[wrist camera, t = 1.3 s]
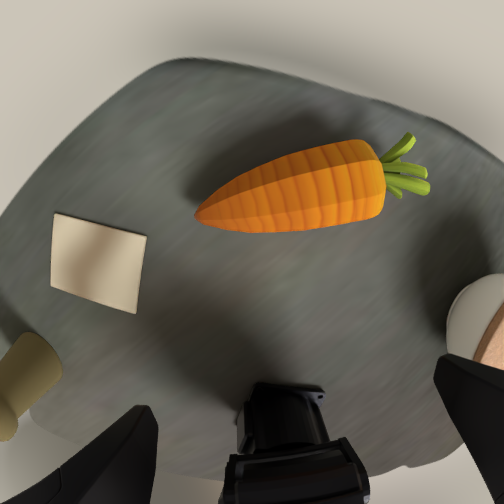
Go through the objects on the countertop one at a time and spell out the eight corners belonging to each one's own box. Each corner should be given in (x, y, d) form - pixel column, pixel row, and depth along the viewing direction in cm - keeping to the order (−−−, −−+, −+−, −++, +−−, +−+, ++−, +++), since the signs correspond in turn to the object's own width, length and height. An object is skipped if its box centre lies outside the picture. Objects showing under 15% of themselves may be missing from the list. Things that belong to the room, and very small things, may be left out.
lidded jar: (480, 350, 24) (528, 392, 15) (414, 364, 23) (464, 425, 14) (507, 261, 21) (570, 289, 12) (444, 256, 21) (523, 295, 11)
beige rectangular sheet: (147, 236, 19) (145, 237, 19) (136, 312, 20) (135, 314, 20) (56, 213, 18) (54, 213, 18) (52, 284, 20) (50, 285, 19)
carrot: (174, 164, 15) (423, 113, 13) (203, 193, 20) (402, 150, 18) (184, 249, 15) (457, 189, 12) (213, 261, 19) (425, 214, 17)
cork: (20, 365, 22) (-32, 424, 11) (16, 321, 20) (-51, 379, 10) (63, 390, 22) (17, 462, 12) (62, 348, 21) (0, 423, 10)
